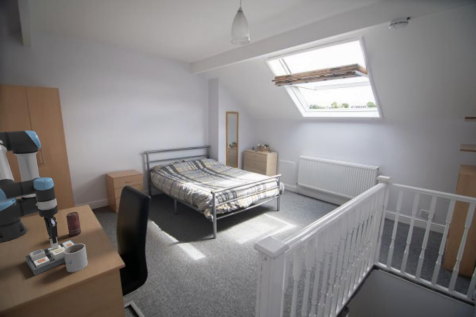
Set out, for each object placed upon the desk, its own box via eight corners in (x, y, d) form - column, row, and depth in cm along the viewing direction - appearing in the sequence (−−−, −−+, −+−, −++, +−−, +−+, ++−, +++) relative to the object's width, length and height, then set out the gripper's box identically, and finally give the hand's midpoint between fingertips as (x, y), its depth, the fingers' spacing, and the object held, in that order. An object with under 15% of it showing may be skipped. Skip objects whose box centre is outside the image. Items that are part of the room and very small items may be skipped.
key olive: (48, 253, 118) (47, 248, 118) (60, 249, 122) (59, 244, 122) (51, 257, 115) (50, 252, 115) (63, 252, 119) (62, 247, 119)
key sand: (52, 256, 114) (51, 251, 113) (64, 251, 118) (63, 246, 117) (55, 260, 111) (54, 254, 110) (67, 255, 115) (66, 250, 114)
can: (75, 237, 135) (72, 216, 132) (66, 236, 137) (63, 215, 134) (83, 232, 141) (81, 212, 138) (75, 231, 142) (72, 211, 140)
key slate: (30, 258, 112) (29, 252, 112) (43, 253, 116) (42, 248, 116) (32, 261, 109) (31, 256, 109) (45, 256, 113) (44, 251, 113)
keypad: (26, 261, 113) (24, 255, 112) (72, 243, 129) (71, 238, 128) (34, 275, 103) (33, 269, 102) (83, 254, 119) (82, 249, 118)
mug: (89, 265, 110) (87, 248, 108) (69, 274, 104) (65, 256, 102) (83, 255, 118) (80, 238, 116) (63, 263, 112) (60, 245, 110)
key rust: (34, 266, 108) (33, 261, 108) (47, 261, 112) (46, 255, 112) (37, 270, 106) (36, 265, 105) (50, 265, 110) (49, 259, 109)
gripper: (34, 206, 114) (42, 246, 119) (42, 213, 107) (49, 255, 111) (53, 201, 120) (59, 240, 125) (60, 208, 113) (67, 248, 117)
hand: (55, 247), depth 118 cm, fingers closed
